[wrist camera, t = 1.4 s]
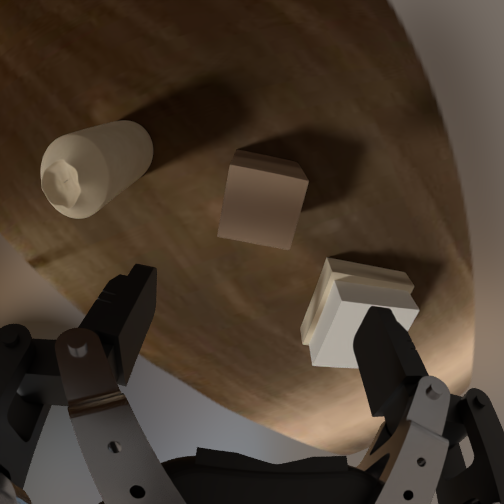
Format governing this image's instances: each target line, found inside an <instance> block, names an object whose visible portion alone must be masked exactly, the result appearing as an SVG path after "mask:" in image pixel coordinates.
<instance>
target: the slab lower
mask: <svg viewBox="0 0 504 504" xmlns="http://www.w3.org/2000/svg"><path fill="white" fill-rule="evenodd" d="M334 280H337V281H344V282H350V283H357V284H364V285H371V286H377V287H384V288H391V289H398V290H405V291H408V292H409V293H410V294H411V292H412V291H413V289H414V287H415V286H414V284H413V283H412V281H411V280H410V279H409V277H408V276H407V274H406V273H405V272H401V271H396V270H390V269H385V268H380V267H375V266H370V265H365V264H359V263H354V262H349V261H344V260H338V259H333V258H328V257H327V258H326V261H325V264H324V267H323V269H322V272H321V275H320V278H319V281H318V283H317V286H316V289H315V291H314V294H313V297H312V299H311V302H310V305H309V307H308V310H307V312H306V315H305V318H304V320H303V323H302V325H301V328H300V330H301V337H302V344H303V345H309V343H310V340H311V338H312V335H313V333H314V331H315V328H316V326H317V323H318V321H319V318H320V316H321V313H322V311H323V308H324V306H325V303H326V301H327V298H328V295H329V293H330V290H331V288H332V285H333V282H334Z"/></svg>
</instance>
